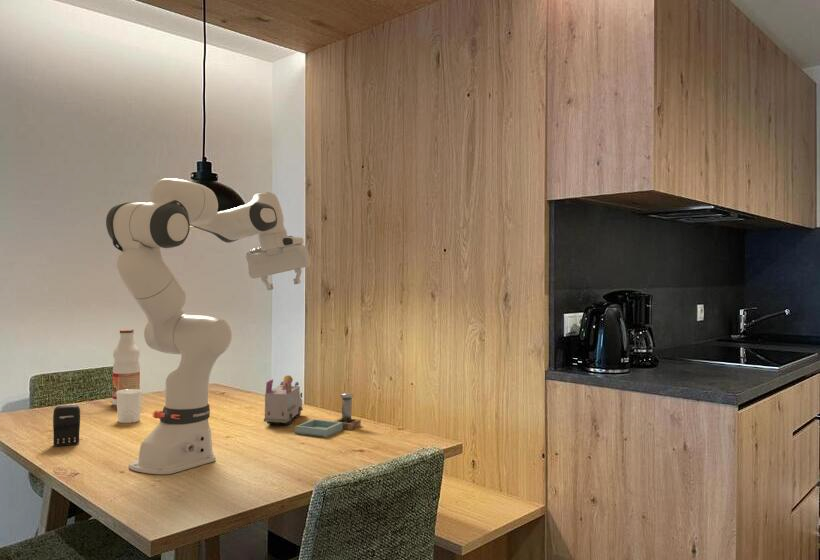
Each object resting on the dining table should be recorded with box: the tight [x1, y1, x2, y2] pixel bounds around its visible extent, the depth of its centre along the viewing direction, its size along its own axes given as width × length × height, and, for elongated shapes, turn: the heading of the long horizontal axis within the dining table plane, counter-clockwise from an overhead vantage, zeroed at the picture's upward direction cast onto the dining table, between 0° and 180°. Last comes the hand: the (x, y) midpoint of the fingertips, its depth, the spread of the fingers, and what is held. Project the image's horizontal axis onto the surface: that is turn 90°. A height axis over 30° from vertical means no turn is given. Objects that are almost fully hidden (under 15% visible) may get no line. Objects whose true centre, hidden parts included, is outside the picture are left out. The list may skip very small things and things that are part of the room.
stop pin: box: [340, 392, 354, 423], centre depth 213 cm, size 4×4×11 cm
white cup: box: [116, 389, 143, 424], centre depth 216 cm, size 8×8×10 cm
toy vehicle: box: [263, 374, 303, 426], centre depth 220 cm, size 9×20×15 cm, turn 174°
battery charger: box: [52, 403, 81, 447], centre depth 185 cm, size 7×4×11 cm, turn 118°
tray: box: [294, 418, 344, 439], centre depth 206 cm, size 11×11×2 cm
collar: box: [334, 417, 362, 431], centre depth 213 cm, size 7×7×2 cm
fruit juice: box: [111, 328, 141, 407], centre depth 242 cm, size 9×9×28 cm
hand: (283, 286), depth 203 cm, fingers open, 8 cm apart
